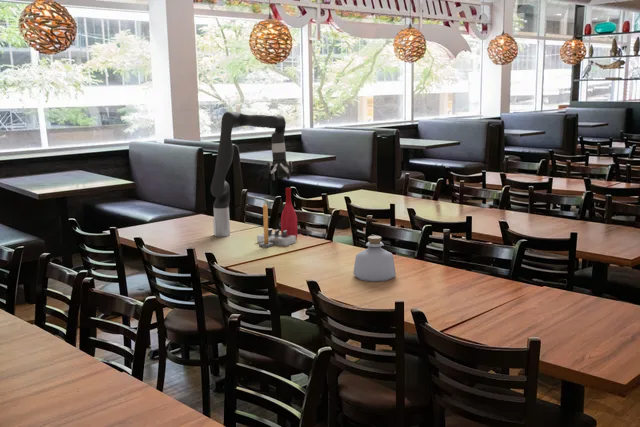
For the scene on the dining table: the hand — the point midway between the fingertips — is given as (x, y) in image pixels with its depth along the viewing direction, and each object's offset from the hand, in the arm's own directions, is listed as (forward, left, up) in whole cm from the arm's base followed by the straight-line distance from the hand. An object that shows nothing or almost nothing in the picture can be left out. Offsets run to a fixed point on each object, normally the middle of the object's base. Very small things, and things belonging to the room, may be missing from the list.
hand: (280, 179), depth 373 cm
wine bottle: (+7, +10, -37) cm, 39 cm away
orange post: (-11, -4, -36) cm, 38 cm away
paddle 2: (0, -2, -32) cm, 32 cm away
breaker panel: (-3, +2, -36) cm, 36 cm away
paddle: (-6, +6, -32) cm, 33 cm away
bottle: (+20, -82, -37) cm, 92 cm away
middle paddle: (-3, +2, -32) cm, 32 cm away
